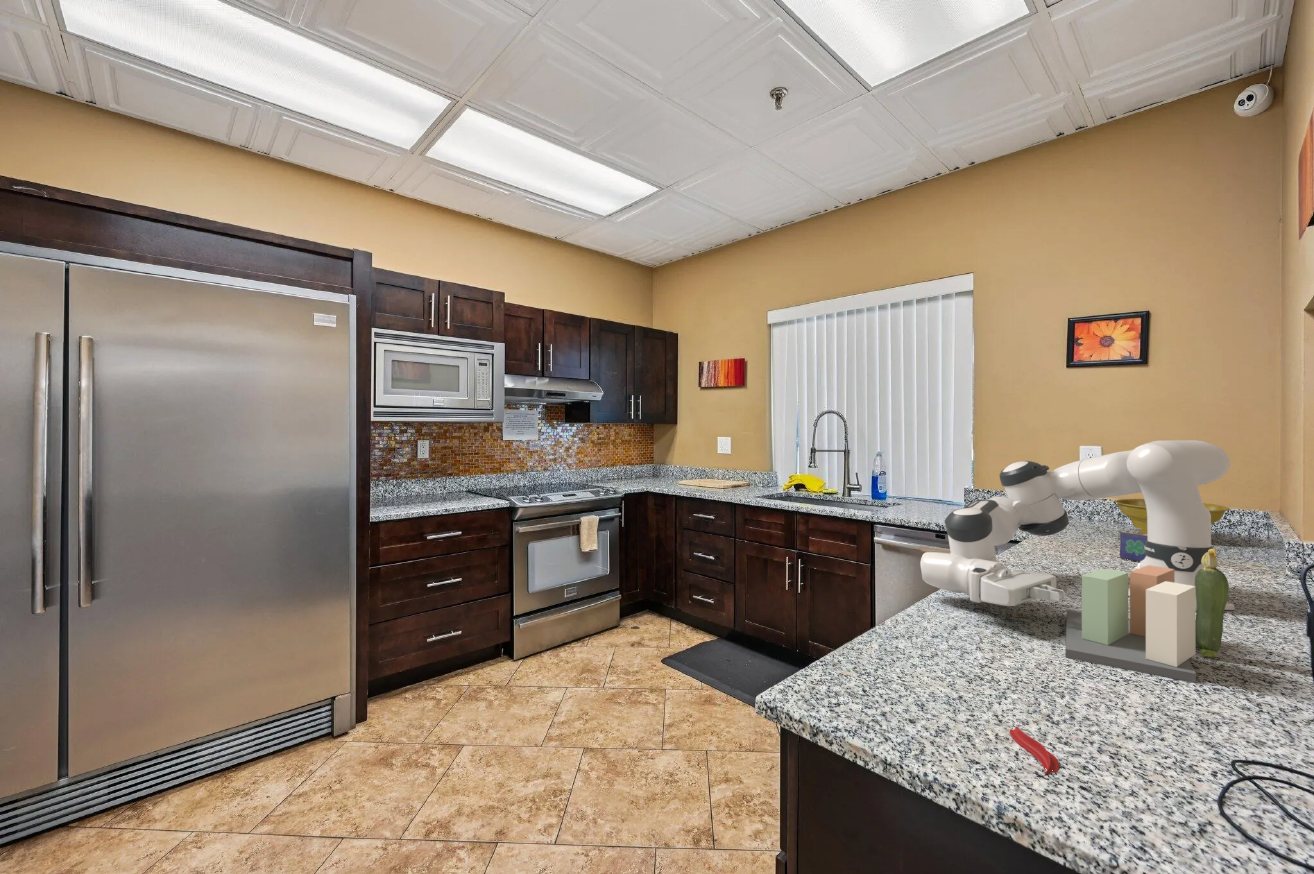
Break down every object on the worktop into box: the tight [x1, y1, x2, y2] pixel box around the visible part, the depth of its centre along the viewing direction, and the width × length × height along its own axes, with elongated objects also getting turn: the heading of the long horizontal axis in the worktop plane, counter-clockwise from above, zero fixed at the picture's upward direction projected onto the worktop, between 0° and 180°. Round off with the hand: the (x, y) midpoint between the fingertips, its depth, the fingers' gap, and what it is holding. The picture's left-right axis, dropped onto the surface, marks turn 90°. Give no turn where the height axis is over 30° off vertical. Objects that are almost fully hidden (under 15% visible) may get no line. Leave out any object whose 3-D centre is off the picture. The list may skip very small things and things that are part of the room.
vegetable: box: [1195, 547, 1230, 658], centre depth 99 cm, size 4×4×20 cm
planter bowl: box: [1113, 498, 1230, 534], centre depth 210 cm, size 32×32×13 cm
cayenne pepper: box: [1008, 725, 1060, 776], centre depth 70 cm, size 12×5×2 cm, turn 153°
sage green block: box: [1081, 568, 1129, 645], centre depth 105 cm, size 4×10×12 cm, turn 122°
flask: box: [1119, 527, 1147, 563], centre depth 173 cm, size 9×3×11 cm, turn 25°
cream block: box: [1146, 581, 1196, 667], centre depth 95 cm, size 4×10×12 cm, turn 122°
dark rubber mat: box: [1064, 609, 1197, 684], centre depth 105 cm, size 28×17×2 cm, turn 142°
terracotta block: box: [1129, 565, 1175, 637], centre depth 107 cm, size 4×10×12 cm, turn 122°
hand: (1062, 596), depth 111 cm, fingers closed
